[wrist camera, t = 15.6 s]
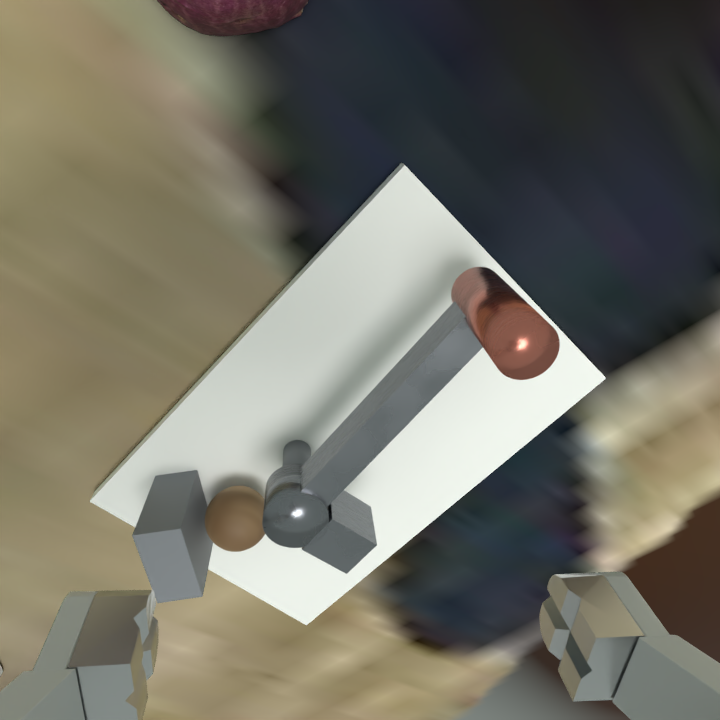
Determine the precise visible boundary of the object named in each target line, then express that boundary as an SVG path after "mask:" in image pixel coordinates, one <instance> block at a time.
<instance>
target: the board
mask: <svg viewBox="0 0 720 720" xmlns="http://www.w3.org/2000/svg"><path fill="white" fill-rule="evenodd" d="M473 267H486V268H489V269H491V270H493V271H494V272H496V273H497V274H498V275H499V276H500V277H501V278H502V279H503V280H504V281H505V282H506V283H507V284H508V285H509V286H510V287H511V288H513V289H514V290H515V291H516V292H517V293H518V294H519V295H520V296H521V297H522V298H523V299H524V300H525V301H526V302H527V303H528V304H529V305H530V306H531V307H533V308H534V309H535V310H536V311H537V312H538V313H539V314H540V315H541V316H542V317H543V318H544V319H545V320H546V321H547V322H548V323H549V324H550V325H551V326H552V327H553V328H554V329H555V330H556V332H557V334H558V336H559V341H560V347H559V352H558V355H557V358H556V359H555V361H554V363H553V364H552V365H551V366H550V367H549V369H547V370H546V371H545V372H544V373H542V374H541V375H539V376H537V377H534V378H531V379H527V380H515V379H511V378H509V377H507V376H505V375H503V374H502V373H501V372H500V371H499V370H498V368H497V367H496V365H495V364H494V362H493V361H492V360H491V358H490V357H489V355H488V354H487V352H486V351H485V350H484V348H482V349H481V350H480V351H479V352H478V353H477V354H476V355H475V356H474V357H473V358H472V359H471V360H470V361H469V362H468V363H467V364H466V365H465V366H464V367H463V368H462V369H461V370H460V371H459V372H458V373H457V374H456V375H455V376H454V377H453V379H452V380H451V381H450V382H449V383H448V384H447V385H446V386H445V387H444V388H443V389H442V390H441V391H440V392H439V393H438V394H437V395H436V396H435V397H434V398H433V399H432V400H431V401H430V402H429V403H428V404H427V405H426V406H425V407H424V408H423V409H422V410H421V411H420V412H419V413H418V414H417V415H416V416H415V417H414V419H413V420H412V421H411V422H410V423H409V424H408V425H407V426H406V427H405V428H404V429H403V430H402V431H401V432H400V433H399V434H398V435H397V436H396V437H395V438H394V439H393V440H392V441H391V442H390V443H389V444H388V445H387V446H386V447H385V448H384V449H383V450H382V451H381V452H380V453H379V454H378V455H377V456H376V458H375V459H374V460H373V461H372V462H371V463H370V464H369V465H368V466H367V467H366V468H365V469H364V470H363V471H362V472H361V473H360V474H359V475H358V476H357V477H356V478H355V479H354V480H353V481H352V482H351V483H350V484H349V485H348V486H347V487H346V488H345V489H344V491H346V492H348V493H349V494H351V495H353V496H354V497H356V498H358V499H359V500H361V501H362V502H364V503H366V504H367V505H369V506H371V510H372V517H373V523H374V529H375V535H376V541H377V546H376V547H375V548H373V549H372V550H371V551H370V552H369V553H368V554H367V555H366V556H365V557H364V558H363V559H362V560H361V561H360V562H359V563H358V564H357V565H356V566H355V567H354V568H353V569H352V570H351V571H349V572H348V573H347V574H346V573H344V572H342V571H340V570H338V569H336V568H334V567H333V566H331V565H329V564H327V563H325V562H323V561H322V560H320V559H318V558H316V557H314V556H312V555H311V554H309V553H307V552H305V551H303V550H302V547H301V548H288V547H283V546H280V545H278V544H276V543H274V542H273V541H271V540H270V539H269V538H268V537H267V535H266V534H265V535H264V537H263V538H262V539H261V540H260V541H259V542H258V543H257V544H256V545H255V546H253V547H252V548H250V549H247V550H244V551H240V552H231V551H226V550H224V549H222V548H220V547H218V546H217V545H215V544H214V543H213V541H212V540H211V539H210V538H209V536H208V534H207V531H206V527H205V514H206V510H207V507H208V505H209V503H210V502H211V500H212V499H213V498H214V497H215V496H216V495H217V494H218V493H219V492H221V491H222V490H224V489H226V488H229V487H232V486H246V487H250V488H252V489H254V490H256V491H257V492H258V493H260V494H261V495H262V497H263V498H264V499H265V489H266V483H267V480H268V479H269V477H270V476H271V474H272V473H273V472H274V471H276V470H277V469H279V468H281V467H283V466H286V465H290V464H304V463H305V462H306V461H307V460H308V459H309V458H310V457H311V456H312V455H313V454H314V453H315V451H316V450H317V449H318V448H319V447H320V446H321V445H322V444H323V443H324V442H325V441H326V440H327V438H328V437H329V436H330V435H331V434H332V433H333V432H334V431H335V430H336V429H337V428H338V427H339V426H340V424H341V423H342V422H343V421H344V420H345V419H346V418H347V417H348V416H349V415H350V414H351V413H352V411H353V410H354V409H355V408H356V407H357V406H358V405H359V404H360V403H361V402H362V401H363V400H364V398H365V397H366V396H367V395H368V394H369V393H370V392H371V391H372V390H373V389H374V388H375V387H376V386H377V384H378V383H379V382H380V381H381V380H382V379H383V378H384V377H385V376H386V375H387V374H388V373H389V371H390V370H391V369H392V368H393V367H394V366H395V365H396V364H397V363H398V362H399V361H400V360H401V358H402V357H403V356H404V355H405V354H406V353H407V352H408V351H409V350H410V349H411V348H412V347H413V345H414V344H415V343H416V342H417V341H418V340H419V339H420V338H421V337H422V336H423V335H424V334H425V333H426V331H427V330H428V329H429V328H430V327H431V326H432V325H433V324H434V323H435V322H436V321H437V320H438V318H439V317H440V316H441V315H442V314H443V313H444V312H445V311H446V310H447V309H448V308H449V307H450V305H451V304H452V303H453V302H452V299H451V291H452V287H453V284H454V282H455V280H456V279H457V278H458V276H459V275H460V274H462V273H463V272H464V271H466V270H468V269H470V268H473ZM605 379H606V378H605V377H604V375H603V374H602V373H601V372H600V371H599V370H598V369H597V368H596V367H595V366H594V365H593V364H592V363H591V362H590V361H589V360H588V359H587V357H586V356H585V355H584V354H583V353H582V352H581V351H580V350H579V349H578V348H577V347H576V346H575V345H574V344H573V343H572V342H571V341H570V339H569V338H568V337H567V336H566V335H565V334H564V333H563V332H562V331H561V330H560V329H559V328H558V327H557V326H556V325H555V324H554V323H553V321H552V320H551V319H550V318H549V317H548V316H547V315H546V314H545V313H544V312H543V311H542V310H541V309H540V308H539V307H538V306H537V305H536V303H535V302H534V301H533V300H532V299H531V298H530V297H529V296H528V295H527V294H526V293H525V292H524V291H523V290H522V289H521V288H520V287H519V285H518V284H517V283H516V282H515V281H514V280H513V279H512V278H511V277H510V276H509V275H508V274H507V273H506V272H505V271H504V270H503V269H502V267H501V266H500V265H499V264H498V263H497V262H496V261H495V260H494V259H493V258H492V257H491V256H490V255H489V254H488V253H487V252H486V251H485V249H484V248H483V247H482V246H481V245H480V244H479V243H478V242H477V241H476V240H475V239H474V238H473V237H472V236H471V235H470V234H469V233H468V232H467V230H466V229H465V228H464V227H463V226H462V225H461V224H460V223H459V222H458V221H457V220H456V219H455V218H454V217H453V216H452V215H451V214H450V212H449V211H448V210H447V209H446V208H445V207H444V206H443V205H442V204H441V203H440V202H439V201H438V200H437V199H436V198H435V197H434V196H433V194H432V193H431V192H430V191H429V190H428V189H427V188H426V187H425V186H424V185H423V184H422V183H421V182H420V181H419V180H418V179H417V178H416V176H415V175H414V174H413V173H412V172H411V171H410V170H409V169H408V168H407V167H406V166H405V165H404V164H403V163H401V164H400V165H399V166H398V167H397V168H396V169H395V170H394V171H393V172H392V173H391V174H390V176H389V177H388V178H387V179H386V180H385V181H384V182H383V183H382V184H381V185H380V186H379V187H378V188H377V189H376V191H375V192H374V193H373V194H372V195H371V196H370V197H369V198H368V199H367V200H366V201H365V202H364V203H363V204H362V206H361V207H360V208H359V209H358V210H357V211H356V212H355V213H354V214H353V215H352V216H351V217H350V218H349V219H348V221H347V222H346V223H345V224H344V225H343V226H342V227H341V228H340V229H339V230H338V231H337V232H336V233H335V234H334V236H333V237H332V238H331V239H330V240H329V241H328V242H327V243H326V244H325V245H324V246H323V247H322V248H321V249H320V250H319V252H318V253H317V254H316V255H315V256H314V257H313V258H312V259H311V260H310V261H309V262H308V263H307V264H306V265H305V267H304V268H303V269H302V270H301V271H300V272H299V273H298V274H297V275H296V276H295V277H294V278H293V279H292V280H291V282H290V283H289V284H288V285H287V286H286V287H285V288H284V289H283V290H282V291H281V292H280V293H279V294H278V295H277V297H276V298H275V299H274V300H273V301H272V302H271V303H270V304H269V305H268V306H267V307H266V308H265V309H264V310H263V312H262V313H261V314H260V315H259V316H258V317H257V318H256V319H255V320H254V321H253V322H252V323H251V324H250V325H249V327H248V328H247V329H246V330H245V331H244V332H243V333H242V334H241V335H240V336H239V337H238V338H237V339H236V340H235V342H234V343H233V344H232V345H231V346H230V347H229V348H228V349H227V350H226V351H225V352H224V353H223V354H222V355H221V357H220V358H219V359H218V360H217V361H216V362H215V363H214V364H213V365H212V366H211V367H210V368H209V369H208V370H207V372H206V373H205V374H204V375H203V376H202V377H201V378H200V379H199V380H198V381H197V382H196V383H195V384H194V385H193V387H192V388H191V389H190V390H189V391H188V392H187V393H186V394H185V395H184V396H183V397H182V398H181V399H180V400H179V402H178V403H177V404H176V405H175V406H174V407H173V408H172V409H171V410H170V411H169V412H168V413H167V414H166V415H165V416H164V418H163V419H162V420H161V421H160V422H159V423H158V424H157V425H156V426H155V427H154V428H153V429H152V430H151V431H150V433H149V434H148V435H147V436H146V437H145V438H144V439H143V440H142V441H141V442H140V443H139V444H138V445H137V446H136V448H135V449H134V450H133V451H132V452H131V453H130V454H129V455H128V456H127V457H126V458H125V459H124V460H123V461H122V463H121V464H120V465H119V466H118V467H117V468H116V469H115V470H114V471H113V472H112V473H111V474H110V475H109V476H108V478H107V479H106V480H105V481H104V482H103V483H102V484H101V485H100V486H99V487H98V488H97V489H96V490H95V492H94V494H93V496H92V498H91V500H90V502H92V503H93V504H95V505H97V506H99V507H100V508H102V509H104V510H106V511H107V512H109V513H111V514H113V515H114V516H116V517H118V518H120V519H121V520H123V521H125V522H127V523H128V524H130V525H132V526H134V527H135V530H134V532H133V535H132V536H133V539H134V542H135V544H136V547H137V550H138V552H139V555H140V558H141V560H142V563H143V566H144V568H145V571H146V574H147V576H148V579H149V582H150V584H151V587H152V590H153V591H154V593H155V598H156V600H157V603H162V602H169V601H175V600H182V599H189V598H196V597H202V596H203V591H204V586H205V581H206V576H207V571H208V569H209V570H211V571H212V572H214V573H216V574H218V575H219V576H221V577H223V578H225V579H226V580H228V581H230V582H232V583H233V584H235V585H237V586H239V587H240V588H242V589H244V590H246V591H247V592H249V593H251V594H253V595H254V596H256V597H258V598H260V599H261V600H263V601H265V602H267V603H268V604H270V605H272V606H274V607H275V608H277V609H279V610H281V611H282V612H284V613H286V614H288V615H289V616H291V617H293V618H295V619H296V620H298V621H300V622H302V623H303V624H305V625H307V624H308V623H310V622H311V621H312V620H313V619H315V618H316V617H317V616H318V615H319V614H321V613H322V612H323V611H324V610H325V609H327V608H328V607H329V606H330V605H332V604H333V603H334V602H335V601H336V600H338V599H339V598H340V597H341V596H342V595H344V594H345V593H346V592H347V591H349V590H350V589H351V588H352V587H353V586H355V585H356V584H357V583H358V582H359V581H361V580H362V579H363V578H364V577H366V576H367V575H368V574H369V573H370V572H372V571H373V570H374V569H375V568H376V567H378V566H379V565H380V564H381V563H383V562H384V561H385V560H386V559H387V558H389V557H390V556H391V555H392V554H393V553H395V552H396V551H397V550H398V549H399V548H401V547H402V546H403V545H404V544H406V543H407V542H408V541H409V540H410V539H412V538H413V537H414V536H415V535H416V534H418V533H419V532H420V531H421V530H423V529H424V528H425V527H426V526H427V525H429V524H430V523H431V522H432V521H433V520H435V519H436V518H437V517H438V516H440V515H441V514H442V513H443V512H444V511H446V510H447V509H448V508H449V507H450V506H452V505H453V504H454V503H455V502H457V501H458V500H459V499H460V498H461V497H463V496H464V495H465V494H466V493H467V492H469V491H470V490H471V489H472V488H474V487H475V486H476V485H477V484H478V483H480V482H481V481H482V480H483V479H484V478H486V477H487V476H488V475H489V474H491V473H492V472H493V471H494V470H495V469H497V468H498V467H499V466H500V465H501V464H503V463H504V462H505V461H506V460H507V459H509V458H510V457H511V456H512V455H514V454H515V453H516V452H517V451H518V450H520V449H521V448H522V447H523V446H524V445H526V444H527V443H528V442H529V441H531V440H532V439H533V438H534V437H535V436H537V435H538V434H539V433H540V432H541V431H543V430H544V429H545V428H546V427H548V426H549V425H550V424H551V423H552V422H554V421H555V420H556V419H557V418H558V417H560V416H561V415H562V414H563V413H565V412H566V411H567V410H568V409H569V408H571V407H572V406H573V405H574V404H575V403H577V402H578V401H579V400H580V399H582V398H583V397H584V396H585V395H586V394H588V393H589V392H590V391H591V390H592V389H594V388H595V387H596V386H597V385H598V384H600V383H601V382H602V381H603V380H605Z"/></svg>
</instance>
